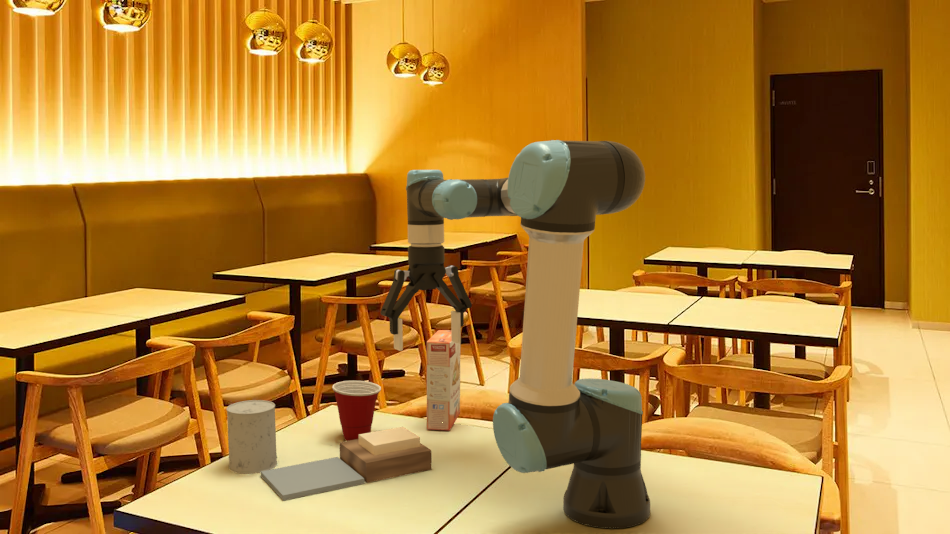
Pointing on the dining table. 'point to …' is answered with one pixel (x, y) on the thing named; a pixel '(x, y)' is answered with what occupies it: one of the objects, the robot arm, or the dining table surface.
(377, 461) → the brown block
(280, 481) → the mat
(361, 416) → the plastic cup
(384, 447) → the tile
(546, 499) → the dining table surface
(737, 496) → the dining table surface
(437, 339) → the cracker box
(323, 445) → the dining table surface
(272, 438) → the speckled stone pillar
